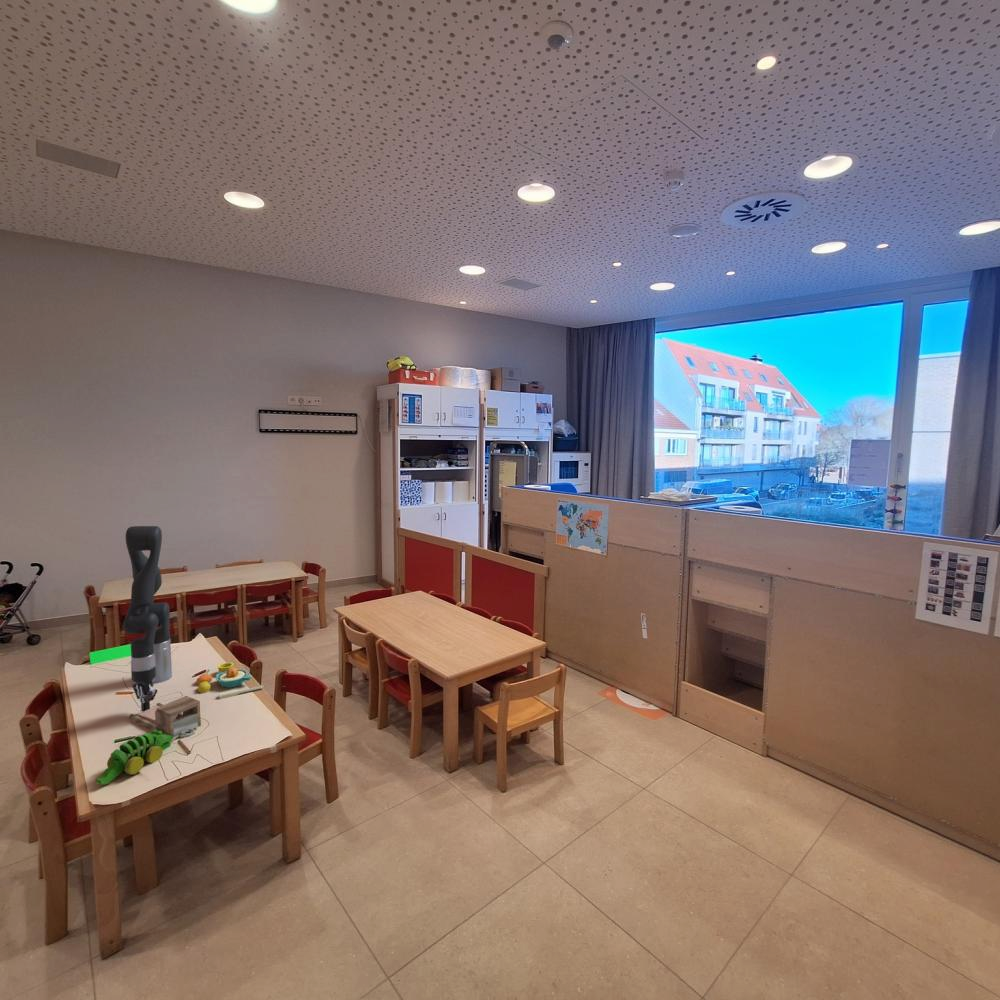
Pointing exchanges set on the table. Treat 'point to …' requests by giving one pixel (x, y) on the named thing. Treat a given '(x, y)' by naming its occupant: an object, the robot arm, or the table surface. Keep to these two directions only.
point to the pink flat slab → (152, 715)
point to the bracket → (110, 654)
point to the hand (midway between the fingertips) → (145, 710)
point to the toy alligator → (138, 754)
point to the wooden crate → (165, 717)
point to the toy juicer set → (225, 680)
